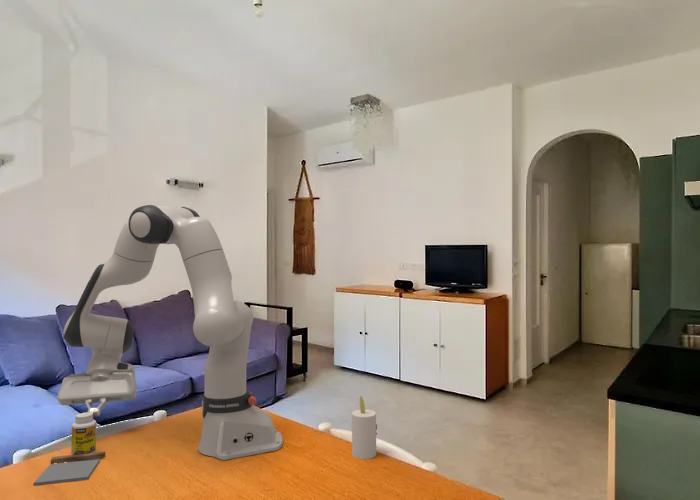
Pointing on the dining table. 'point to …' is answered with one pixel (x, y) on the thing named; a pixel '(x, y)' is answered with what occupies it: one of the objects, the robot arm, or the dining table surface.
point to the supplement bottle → (83, 434)
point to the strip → (78, 457)
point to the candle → (364, 432)
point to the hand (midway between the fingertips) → (93, 415)
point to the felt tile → (67, 472)
